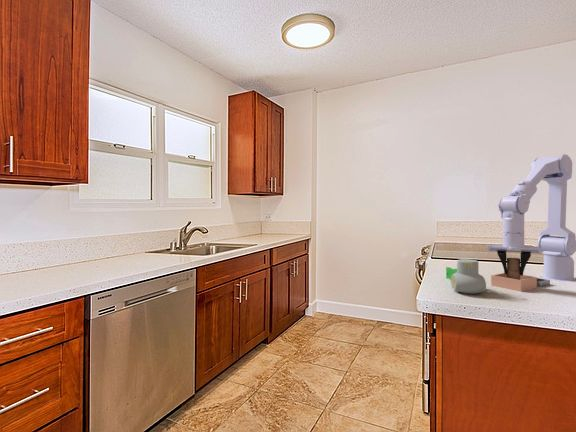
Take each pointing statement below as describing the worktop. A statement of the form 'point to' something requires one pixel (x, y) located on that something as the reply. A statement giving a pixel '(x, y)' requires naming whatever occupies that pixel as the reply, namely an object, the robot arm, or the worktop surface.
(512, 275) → the walnut strut
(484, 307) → the worktop surface
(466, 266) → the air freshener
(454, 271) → the pipe clamp
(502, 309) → the worktop surface
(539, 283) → the metal socket
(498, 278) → the terracotta bin
